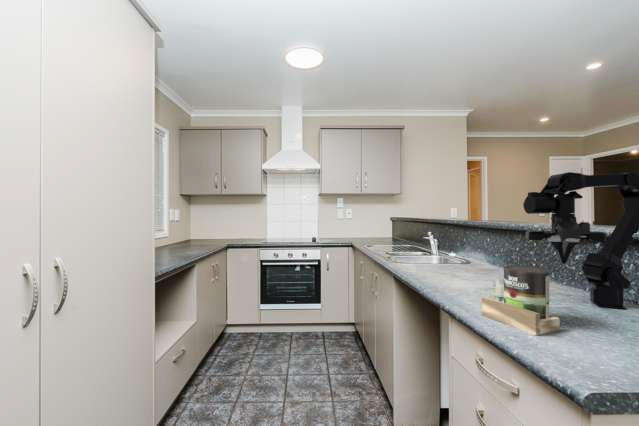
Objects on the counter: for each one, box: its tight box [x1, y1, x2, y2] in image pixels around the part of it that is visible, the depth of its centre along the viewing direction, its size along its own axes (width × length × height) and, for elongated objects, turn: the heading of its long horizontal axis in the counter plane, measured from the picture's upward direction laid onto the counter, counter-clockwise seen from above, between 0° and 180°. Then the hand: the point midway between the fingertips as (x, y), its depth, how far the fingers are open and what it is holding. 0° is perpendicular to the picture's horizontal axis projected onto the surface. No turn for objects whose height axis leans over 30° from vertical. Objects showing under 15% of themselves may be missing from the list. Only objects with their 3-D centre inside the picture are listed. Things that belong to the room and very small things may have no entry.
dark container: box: [502, 264, 551, 320], centre depth 80 cm, size 10×10×14 cm
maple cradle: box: [480, 296, 561, 336], centre depth 78 cm, size 8×15×5 cm, turn 20°
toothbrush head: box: [492, 277, 504, 302], centre depth 104 cm, size 5×7×25 cm
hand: (563, 263), depth 92 cm, fingers closed
